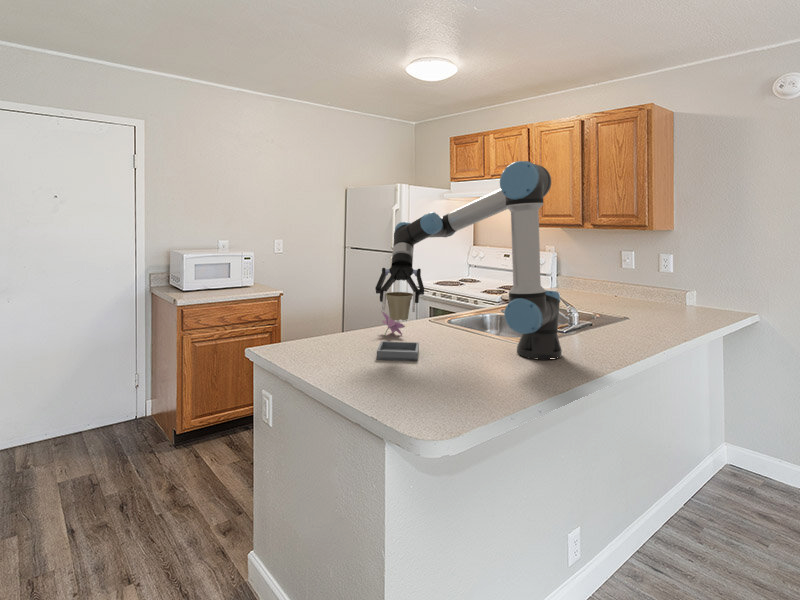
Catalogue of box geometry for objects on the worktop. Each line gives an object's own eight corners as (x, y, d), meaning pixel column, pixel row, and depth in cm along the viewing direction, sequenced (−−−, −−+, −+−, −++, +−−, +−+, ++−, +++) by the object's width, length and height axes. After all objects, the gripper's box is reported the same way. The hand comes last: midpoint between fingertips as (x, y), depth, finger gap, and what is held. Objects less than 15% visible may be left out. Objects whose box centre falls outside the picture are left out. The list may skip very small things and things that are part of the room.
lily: (405, 342, 197) (412, 319, 199) (378, 331, 194) (385, 308, 196) (395, 344, 208) (401, 323, 210) (369, 334, 205) (376, 312, 207)
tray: (418, 350, 180) (419, 342, 179) (417, 361, 166) (417, 352, 166) (381, 349, 180) (381, 341, 180) (376, 359, 167) (376, 350, 167)
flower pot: (410, 322, 166) (410, 296, 165) (382, 320, 168) (382, 295, 166) (414, 317, 175) (415, 292, 174) (388, 315, 177) (388, 291, 176)
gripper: (432, 265, 183) (431, 316, 170) (372, 264, 185) (366, 314, 171) (433, 252, 177) (431, 303, 164) (371, 250, 179) (364, 301, 165)
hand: (398, 309), depth 168 cm, fingers closed on flower pot, 9 cm apart
